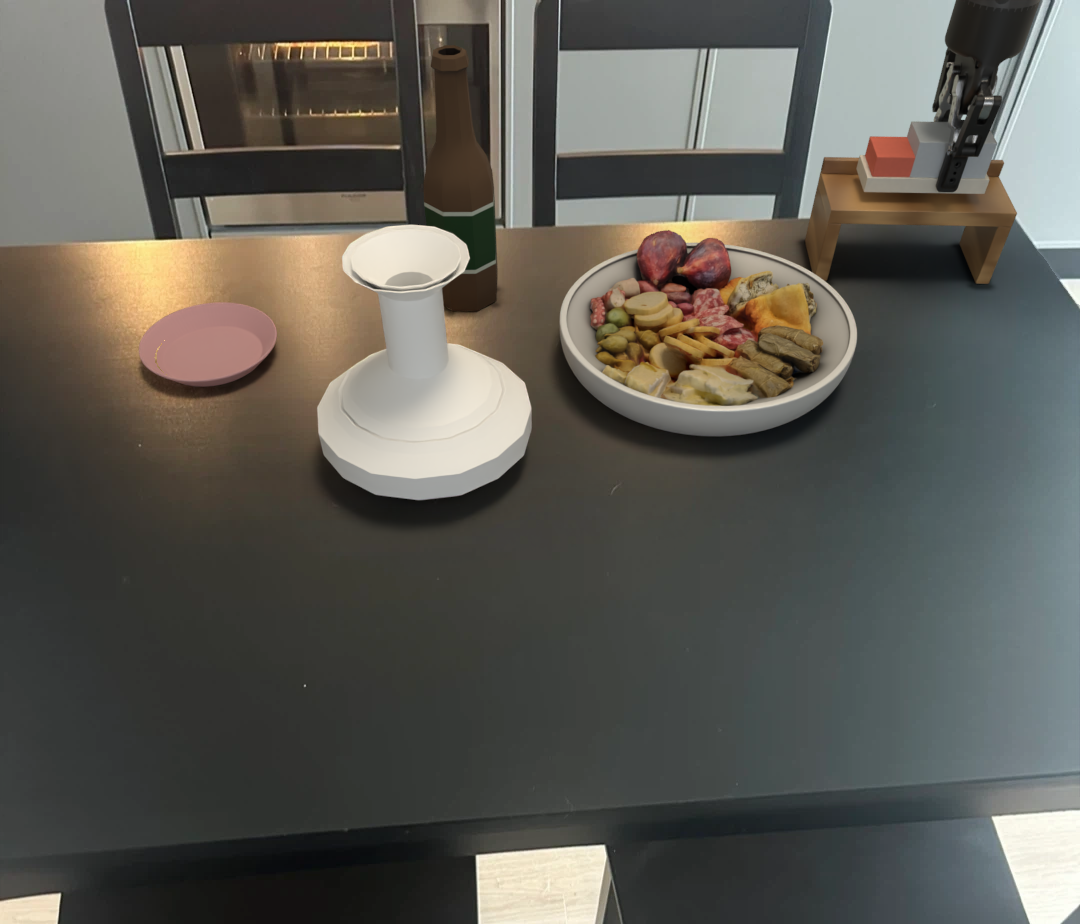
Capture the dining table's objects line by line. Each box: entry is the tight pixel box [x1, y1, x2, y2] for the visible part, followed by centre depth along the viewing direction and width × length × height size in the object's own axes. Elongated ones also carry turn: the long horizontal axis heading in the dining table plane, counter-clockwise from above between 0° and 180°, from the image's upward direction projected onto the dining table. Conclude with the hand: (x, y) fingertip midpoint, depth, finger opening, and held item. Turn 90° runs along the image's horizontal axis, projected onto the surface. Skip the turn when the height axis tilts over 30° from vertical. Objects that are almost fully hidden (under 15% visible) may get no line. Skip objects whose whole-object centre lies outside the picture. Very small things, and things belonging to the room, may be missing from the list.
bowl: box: [559, 229, 858, 437], centre depth 96 cm, size 30×30×8 cm
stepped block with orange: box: [856, 120, 998, 194], centre depth 101 cm, size 13×5×5 cm, turn 87°
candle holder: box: [316, 224, 533, 501], centre depth 82 cm, size 20×20×19 cm
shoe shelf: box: [804, 156, 1018, 285], centre depth 106 cm, size 20×9×10 cm, turn 87°
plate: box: [138, 301, 278, 387], centre depth 99 cm, size 14×14×2 cm
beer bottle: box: [423, 44, 498, 312], centre depth 97 cm, size 8×8×24 cm
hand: (939, 176), depth 102 cm, fingers closed on stepped block with orange, 5 cm apart
